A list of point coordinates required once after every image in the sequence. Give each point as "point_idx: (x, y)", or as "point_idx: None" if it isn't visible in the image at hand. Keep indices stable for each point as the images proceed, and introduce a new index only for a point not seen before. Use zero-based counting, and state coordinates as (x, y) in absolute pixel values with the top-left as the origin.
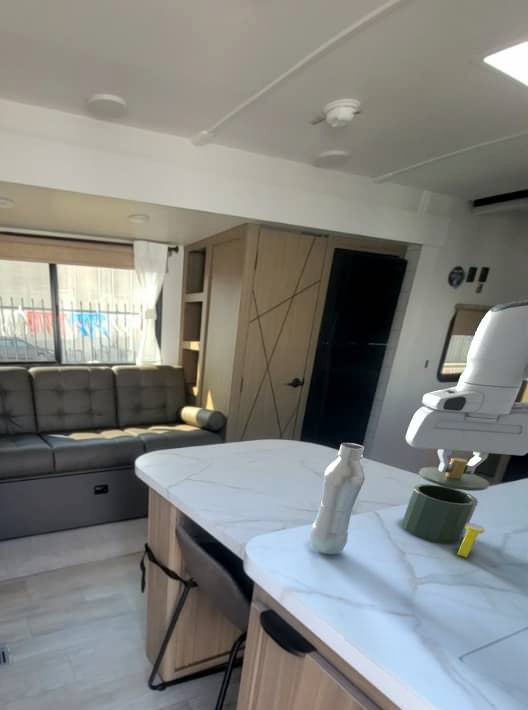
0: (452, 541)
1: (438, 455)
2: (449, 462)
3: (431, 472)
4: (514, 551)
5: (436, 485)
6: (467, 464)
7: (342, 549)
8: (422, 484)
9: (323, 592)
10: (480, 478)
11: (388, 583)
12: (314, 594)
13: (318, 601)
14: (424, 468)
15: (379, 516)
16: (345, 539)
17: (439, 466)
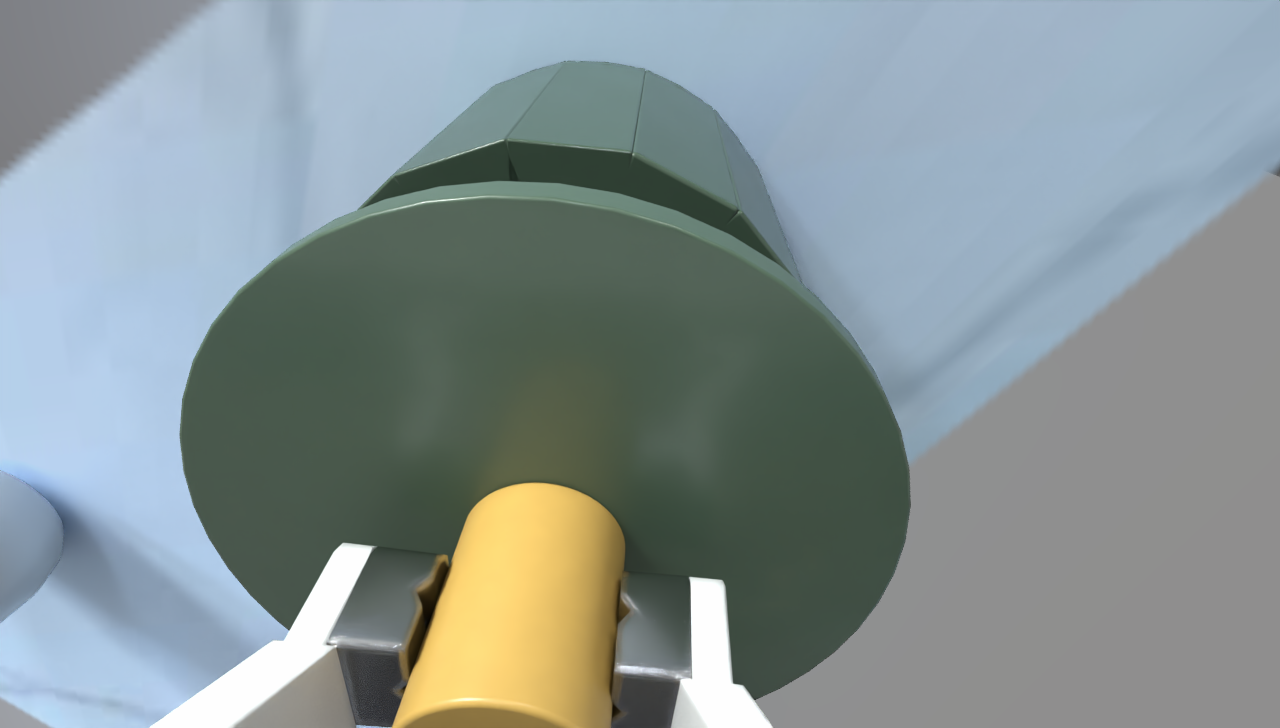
0: None
1: (164, 720)
2: (401, 671)
3: (328, 438)
4: (946, 413)
5: (595, 172)
6: (633, 717)
7: (54, 567)
8: (429, 171)
9: (63, 689)
10: (857, 556)
11: (254, 647)
12: (41, 696)
13: (58, 714)
14: (268, 297)
15: (294, 49)
16: (14, 610)
17: (326, 579)
